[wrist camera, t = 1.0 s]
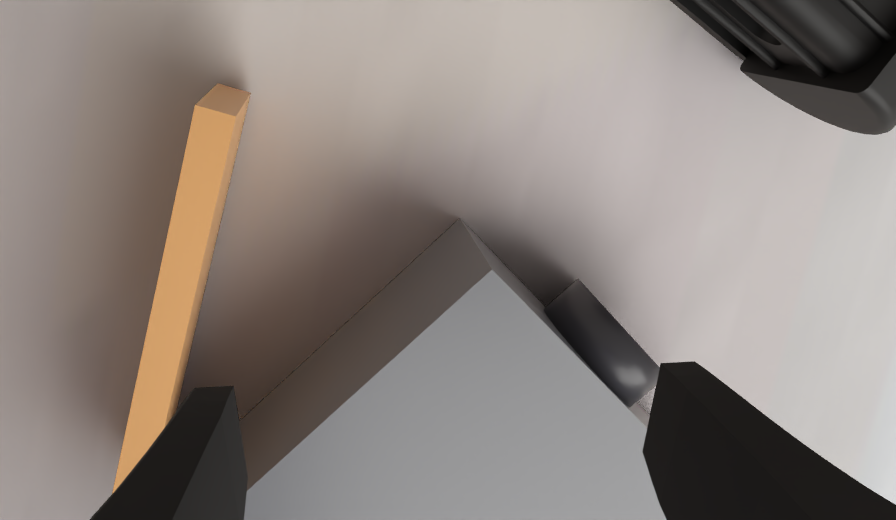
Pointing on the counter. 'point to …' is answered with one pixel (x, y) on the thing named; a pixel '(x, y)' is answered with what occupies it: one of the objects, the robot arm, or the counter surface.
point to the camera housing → (459, 406)
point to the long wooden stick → (184, 268)
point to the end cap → (814, 54)
